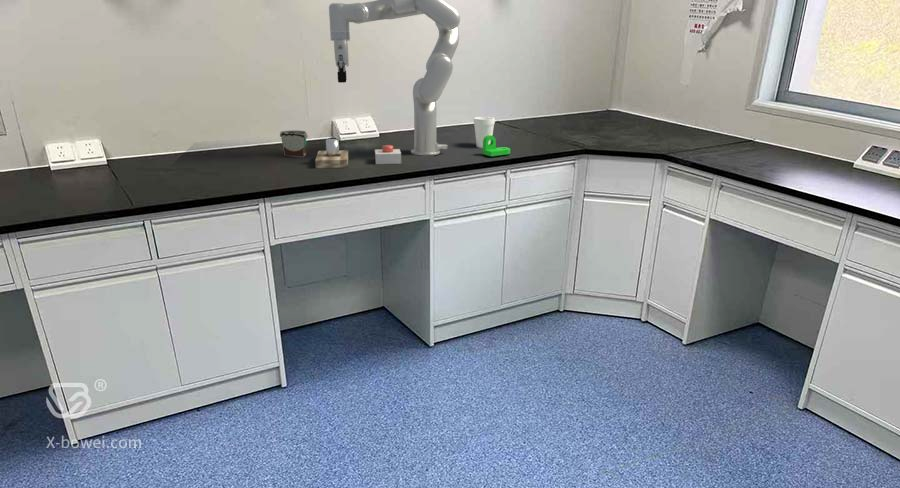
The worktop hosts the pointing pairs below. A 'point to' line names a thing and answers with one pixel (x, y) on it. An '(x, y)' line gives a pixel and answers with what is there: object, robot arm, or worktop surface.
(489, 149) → the mechanical part
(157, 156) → the worktop surface
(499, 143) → the worktop surface
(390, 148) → the button
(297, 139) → the food container
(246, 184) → the worktop surface
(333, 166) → the pallet
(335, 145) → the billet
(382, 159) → the button station
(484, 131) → the foam cup
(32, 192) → the worktop surface
